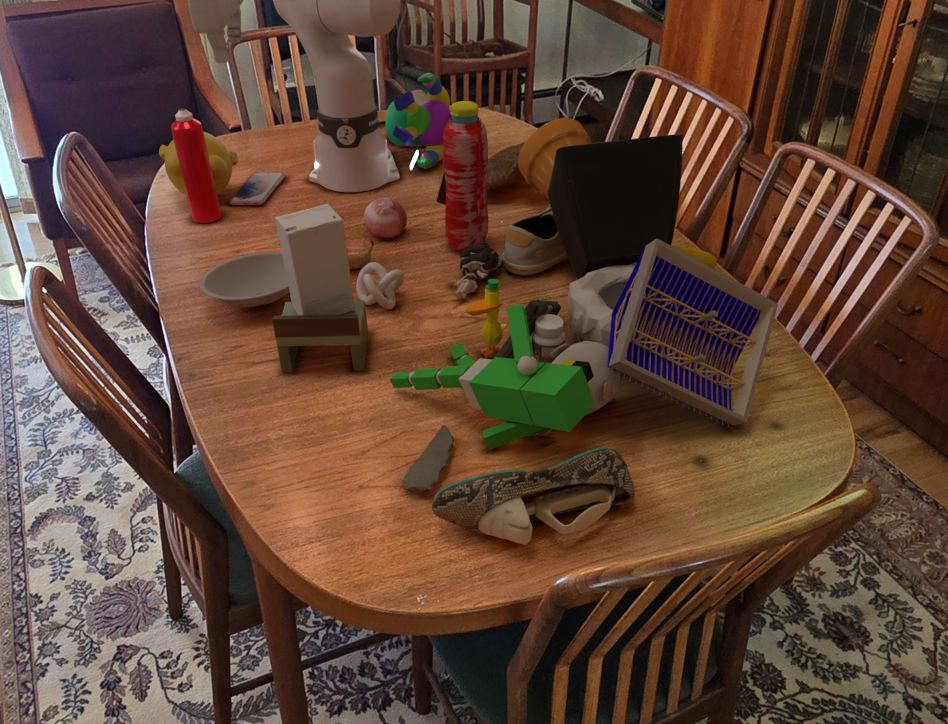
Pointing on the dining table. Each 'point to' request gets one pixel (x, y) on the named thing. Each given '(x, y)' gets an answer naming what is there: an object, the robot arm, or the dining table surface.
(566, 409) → the toy
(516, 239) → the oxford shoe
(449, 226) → the water bottle
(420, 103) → the ice cream cone
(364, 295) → the knot
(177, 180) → the sculpture
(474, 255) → the figurine
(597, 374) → the toy
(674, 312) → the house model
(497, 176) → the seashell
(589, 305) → the bowl
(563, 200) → the flower pot
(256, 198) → the smartphone
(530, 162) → the flower pot
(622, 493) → the ballet flat
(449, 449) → the stone
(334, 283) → the cosmetic box
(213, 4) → the robot arm
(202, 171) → the bottle
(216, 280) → the dish
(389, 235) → the onion
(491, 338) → the toy figure
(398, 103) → the figurine
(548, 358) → the pill bottle
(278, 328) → the shelf
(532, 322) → the handgun
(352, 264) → the banana
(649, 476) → the dining table surface
